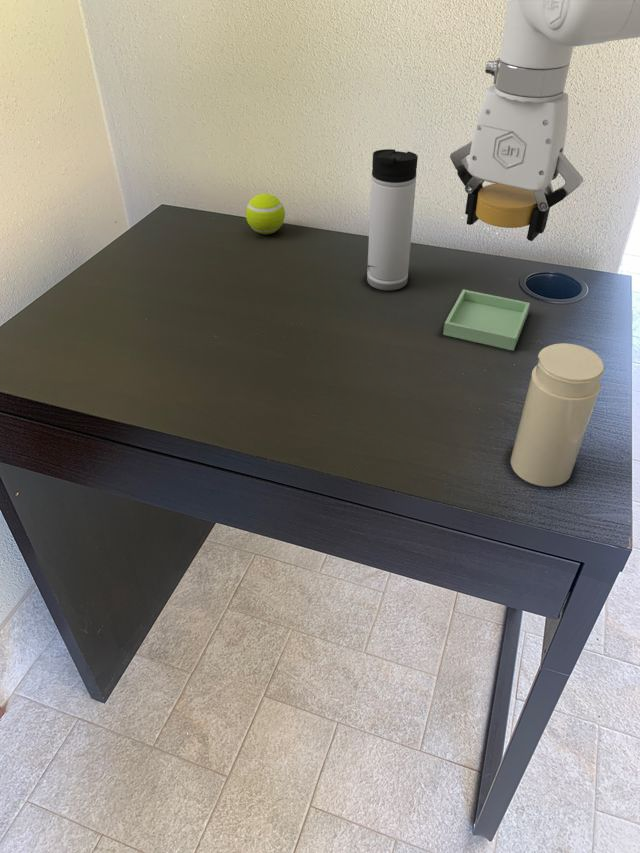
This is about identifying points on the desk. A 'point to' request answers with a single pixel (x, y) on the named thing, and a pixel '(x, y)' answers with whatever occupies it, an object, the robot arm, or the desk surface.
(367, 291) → the desk surface
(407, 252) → the travel mug
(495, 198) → the lid
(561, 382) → the jar
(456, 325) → the tray
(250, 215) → the tennis ball
